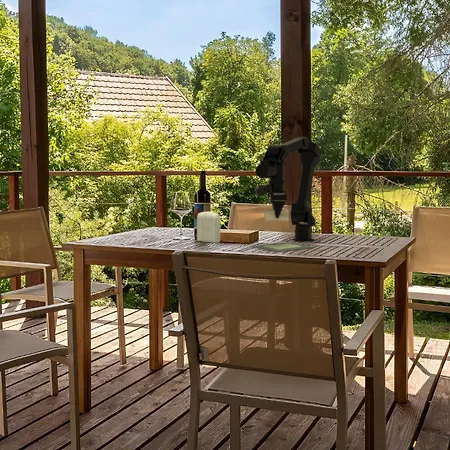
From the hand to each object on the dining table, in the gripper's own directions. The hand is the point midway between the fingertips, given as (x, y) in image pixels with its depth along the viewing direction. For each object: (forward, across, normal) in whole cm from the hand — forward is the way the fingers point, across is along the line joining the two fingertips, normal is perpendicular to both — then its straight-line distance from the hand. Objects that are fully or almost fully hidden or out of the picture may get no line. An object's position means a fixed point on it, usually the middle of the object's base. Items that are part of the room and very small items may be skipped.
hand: (276, 217), depth 273 cm
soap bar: (+11, -12, -27) cm, 31 cm away
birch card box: (+1, 0, 0) cm, 1 cm away
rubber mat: (+11, +5, +2) cm, 13 cm away
